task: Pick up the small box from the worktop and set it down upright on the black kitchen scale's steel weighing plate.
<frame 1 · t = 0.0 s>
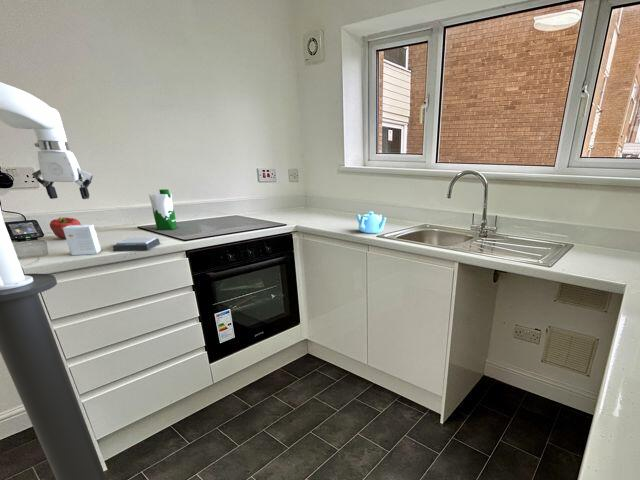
hand: (70, 198, 126), 21 cm above the countertop, tool pointing down, fingers open, 9 cm apart
milk carton: (167, 229, 187), on the countertop
small box: (86, 253, 136), on the countertop
teapot: (371, 231, 199), on the countertop
scale: (137, 247, 148), on the countertop
vegetable: (69, 238, 158), on the countertop
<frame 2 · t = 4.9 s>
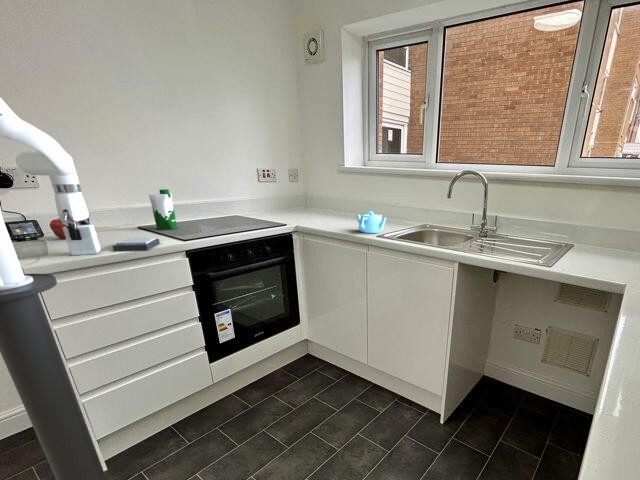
hand: (82, 237, 134), 6 cm above the countertop, tool pointing down, fingers closed on small box, 6 cm apart
small box: (86, 253, 136), on the countertop, touching gripper
everything else where it was.
when the fingers open (9 cm above the countertop, at t = 12.3 s): small box stays where it is, resting on scale.
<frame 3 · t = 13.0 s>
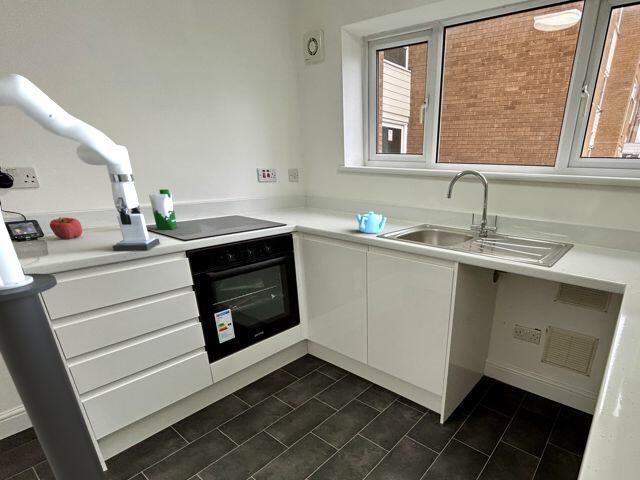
hand: (132, 222, 144), 10 cm above the countertop, tool pointing down, fingers open, 9 cm apart
small box: (136, 240, 147), point 3 cm above the countertop, touching scale
everything else where it was.
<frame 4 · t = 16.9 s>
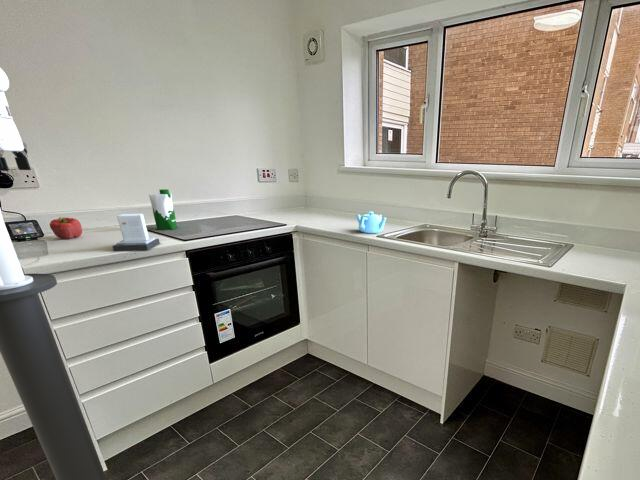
hand: (14, 170, 116), 30 cm above the countertop, tool pointing down, fingers open, 9 cm apart
nothing on the countertop moved.
at the end: small box inside the target area on the scale (0.0 cm from its centre), point 2.7 cm above the scale's base; small box tilted 0°; the gripper is holding nothing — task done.
